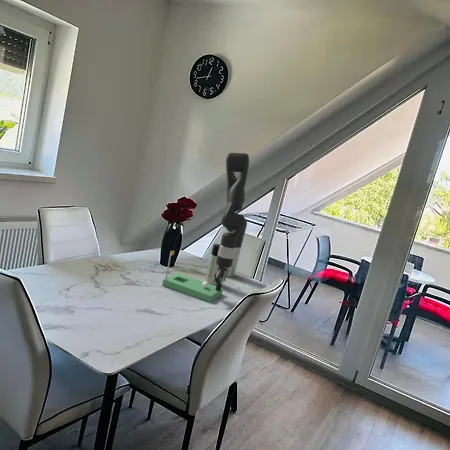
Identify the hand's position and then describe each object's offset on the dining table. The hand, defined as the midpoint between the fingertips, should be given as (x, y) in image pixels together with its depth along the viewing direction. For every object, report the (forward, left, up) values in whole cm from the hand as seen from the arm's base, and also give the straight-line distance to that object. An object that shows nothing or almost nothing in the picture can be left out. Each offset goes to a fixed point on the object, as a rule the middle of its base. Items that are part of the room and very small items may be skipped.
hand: (218, 290), depth 199 cm
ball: (0, -7, +1) cm, 7 cm away
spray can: (-19, -11, -4) cm, 22 cm away
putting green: (0, -13, -4) cm, 13 cm away
